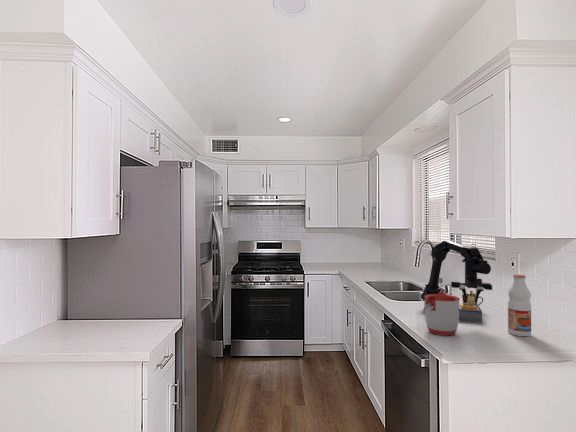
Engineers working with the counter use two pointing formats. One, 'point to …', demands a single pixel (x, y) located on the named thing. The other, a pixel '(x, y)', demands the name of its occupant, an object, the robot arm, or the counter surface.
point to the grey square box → (470, 313)
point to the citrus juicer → (442, 313)
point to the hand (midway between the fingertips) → (471, 302)
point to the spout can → (471, 298)
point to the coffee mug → (475, 302)
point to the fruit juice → (519, 308)
